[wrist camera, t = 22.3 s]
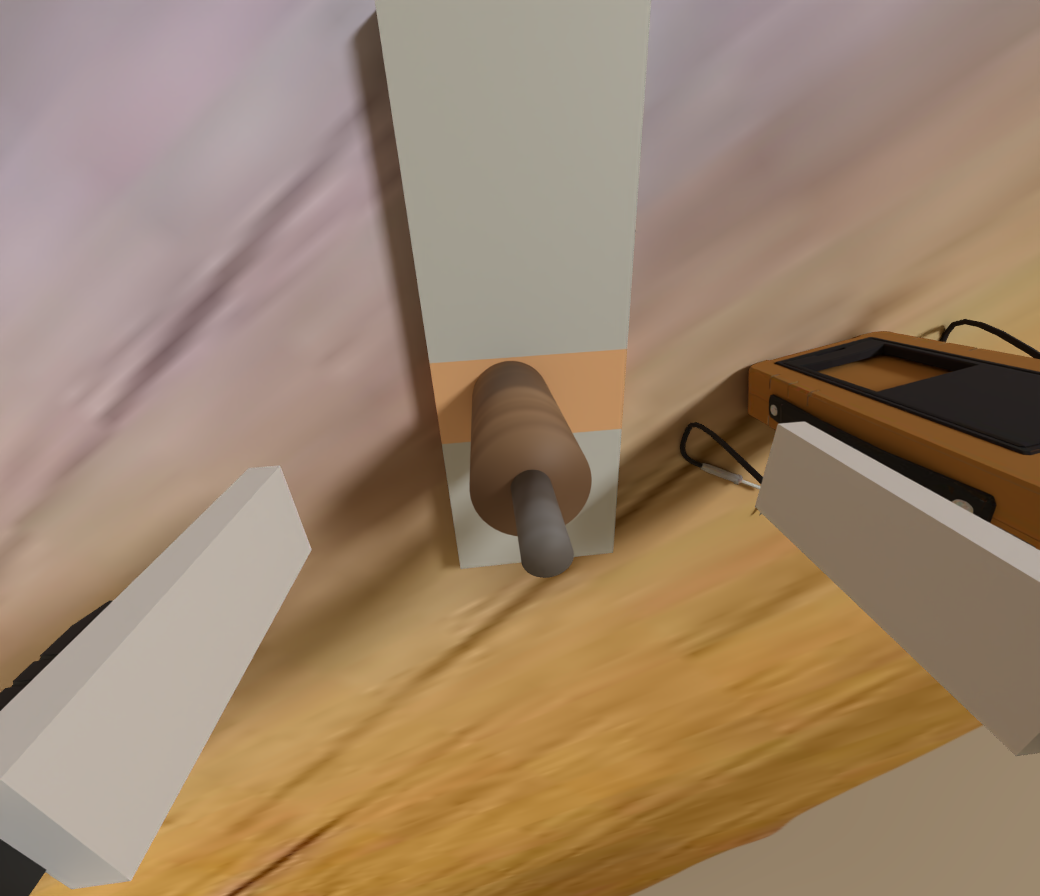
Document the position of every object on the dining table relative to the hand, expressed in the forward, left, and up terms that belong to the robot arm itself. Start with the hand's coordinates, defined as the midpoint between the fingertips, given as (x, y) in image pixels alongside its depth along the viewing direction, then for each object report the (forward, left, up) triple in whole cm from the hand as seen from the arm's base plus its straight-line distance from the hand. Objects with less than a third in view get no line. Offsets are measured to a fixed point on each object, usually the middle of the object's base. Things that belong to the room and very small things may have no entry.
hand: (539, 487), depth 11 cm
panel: (-2, +1, -10) cm, 10 cm away
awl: (0, 0, -9) cm, 9 cm away
